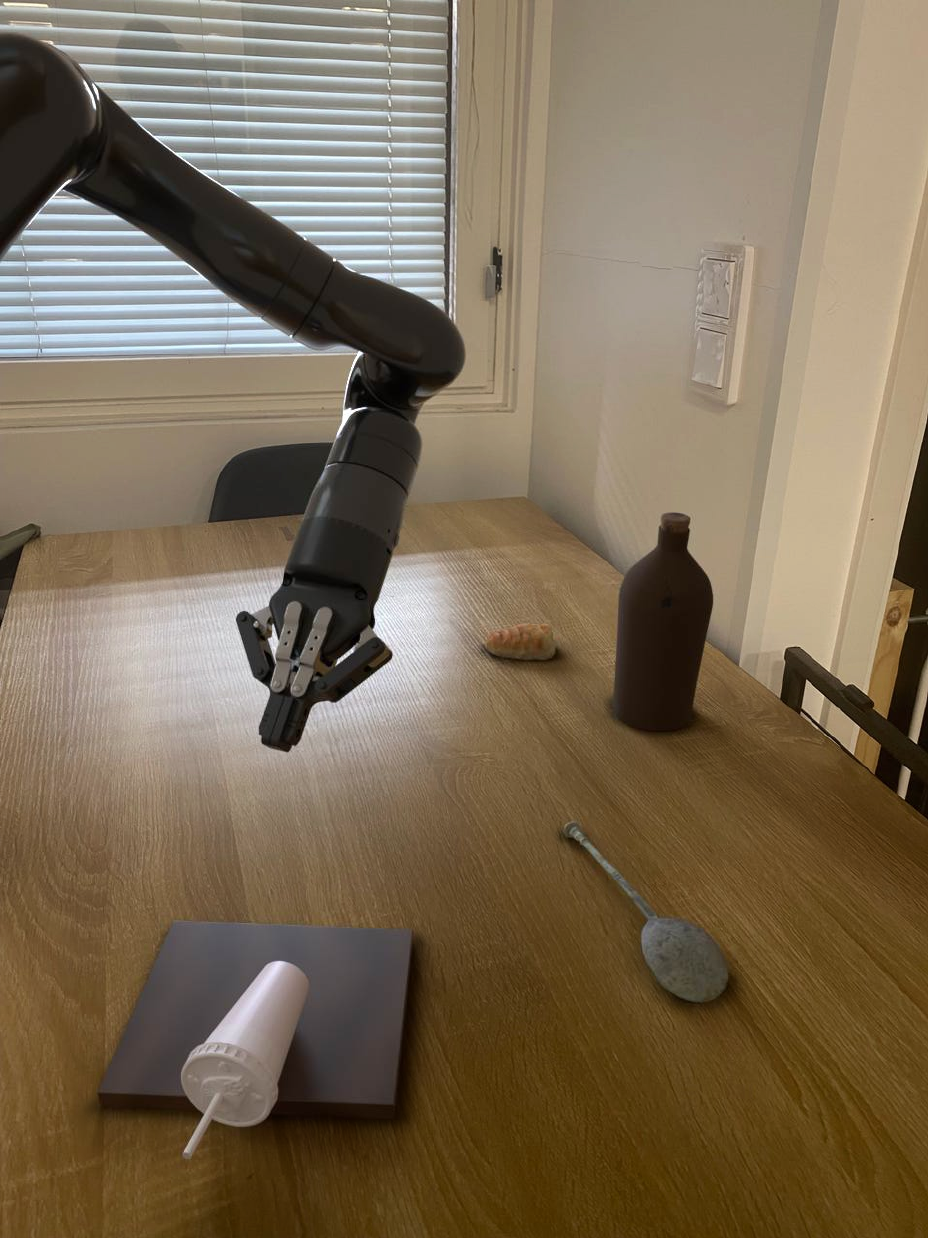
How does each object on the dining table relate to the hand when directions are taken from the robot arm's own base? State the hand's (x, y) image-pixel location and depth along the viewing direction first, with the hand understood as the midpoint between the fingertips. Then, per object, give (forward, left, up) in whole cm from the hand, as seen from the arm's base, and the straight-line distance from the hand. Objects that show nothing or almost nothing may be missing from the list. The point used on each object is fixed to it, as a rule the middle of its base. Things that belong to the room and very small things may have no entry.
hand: (275, 748), depth 66 cm
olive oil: (+36, +41, -20) cm, 58 cm away
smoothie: (+1, -6, -16) cm, 17 cm away
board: (0, -6, -20) cm, 21 cm away
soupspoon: (+29, +7, -20) cm, 36 cm away
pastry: (+21, +56, -20) cm, 63 cm away
